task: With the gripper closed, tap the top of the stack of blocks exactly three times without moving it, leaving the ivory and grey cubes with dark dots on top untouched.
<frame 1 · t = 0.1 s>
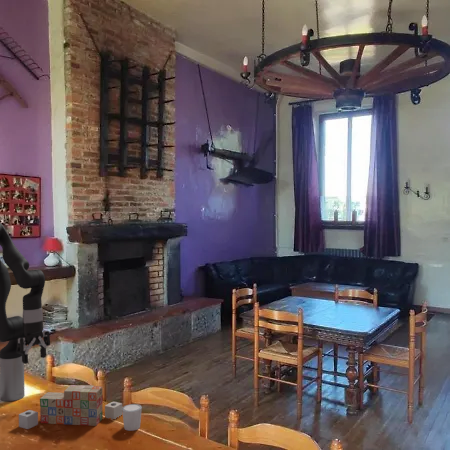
hand: (34, 360, 189), 17 cm above the table, tool pointing down, fingers open, 8 cm apart
stack of blocks: (71, 421, 173), on the table
shot glass: (132, 427, 167), on the table
ivory marked cube: (113, 416, 176), on the table
grey marked cube: (28, 425, 169), on the table
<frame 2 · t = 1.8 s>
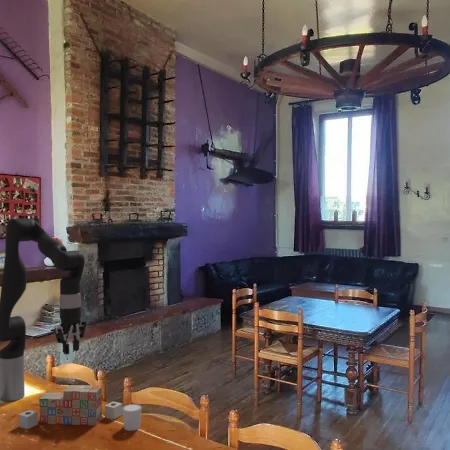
hand: (71, 352, 172), 25 cm above the table, tool pointing down, fingers open, 4 cm apart
nothing on the table moved.
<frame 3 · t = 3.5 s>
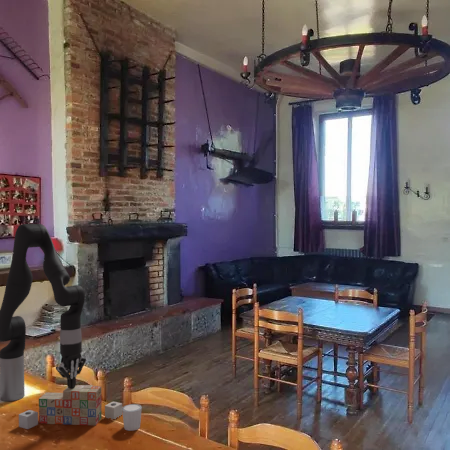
hand: (71, 387, 172), 12 cm above the table, tool pointing down, fingers closed
stack of blocks: (70, 421, 173), on the table, touching gripper
everything else where it was.
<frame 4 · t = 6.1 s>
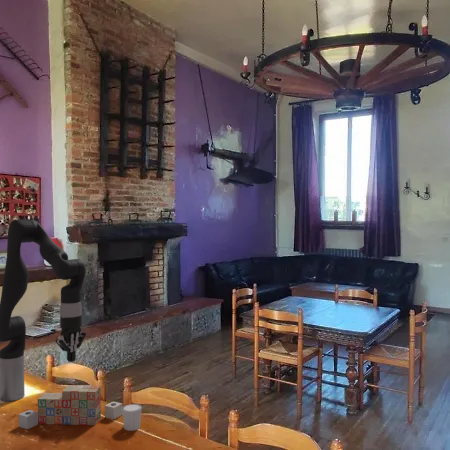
hand: (71, 361, 172), 22 cm above the table, tool pointing down, fingers closed
stack of blocks: (69, 421, 173), on the table
everything else where it was.
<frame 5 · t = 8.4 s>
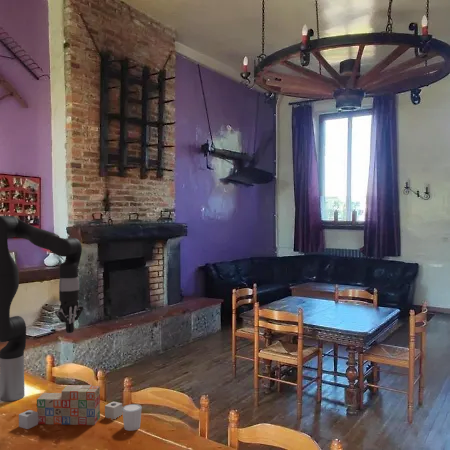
hand: (69, 332, 186), 29 cm above the table, tool pointing down, fingers closed
nothing on the table moved.
at the end: stack of blocks moved 1.1 cm from its start; stack of blocks tilted 0°; ivory marked cube moved 0.1 cm from its start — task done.
